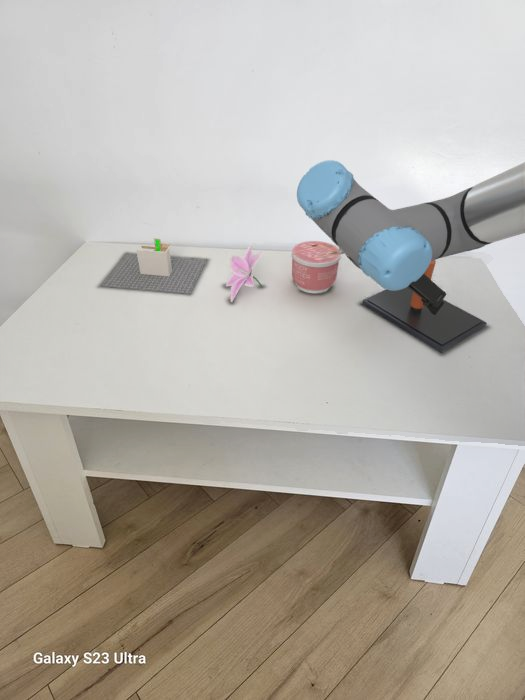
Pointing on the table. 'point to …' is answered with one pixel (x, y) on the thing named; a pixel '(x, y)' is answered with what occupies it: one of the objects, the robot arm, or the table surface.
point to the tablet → (425, 319)
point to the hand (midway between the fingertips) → (408, 292)
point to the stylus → (416, 300)
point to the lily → (242, 271)
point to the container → (314, 265)
